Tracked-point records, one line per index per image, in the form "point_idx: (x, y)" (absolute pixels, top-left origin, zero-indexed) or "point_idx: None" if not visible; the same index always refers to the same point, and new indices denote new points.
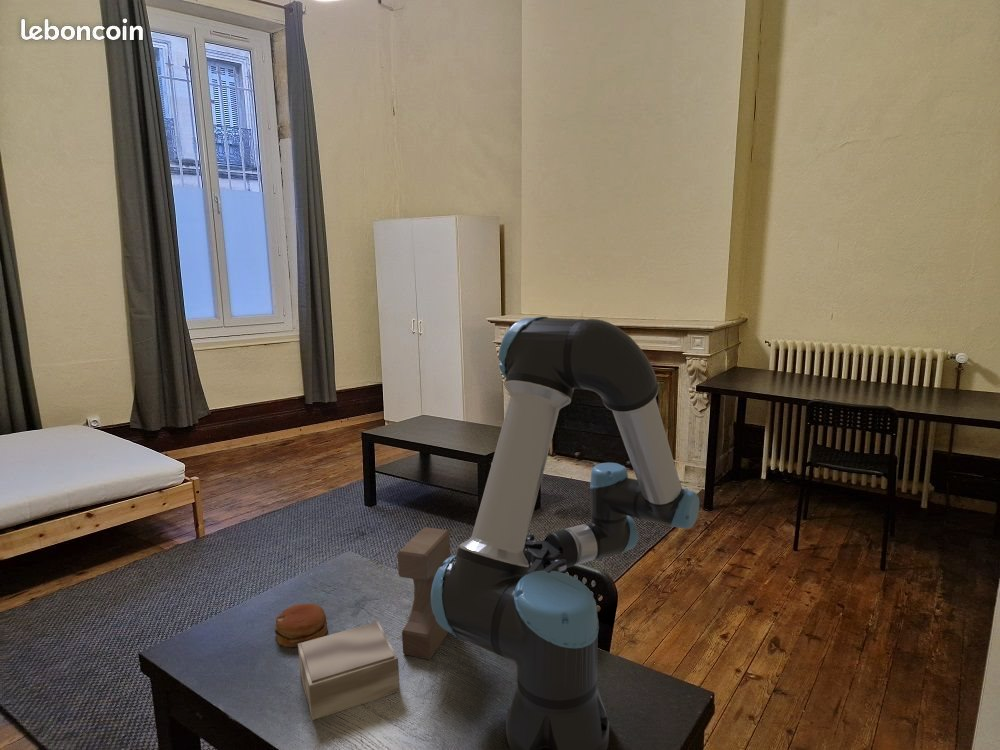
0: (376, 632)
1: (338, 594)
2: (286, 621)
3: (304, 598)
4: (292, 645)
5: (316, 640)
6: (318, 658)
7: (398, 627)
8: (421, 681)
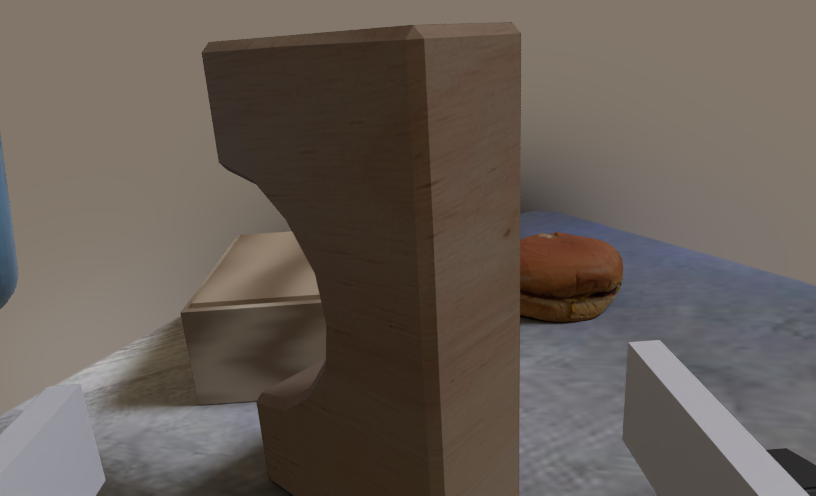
0: None
1: (767, 341)
2: (532, 238)
3: (737, 298)
4: None
5: None
6: None
7: None
8: (190, 447)
